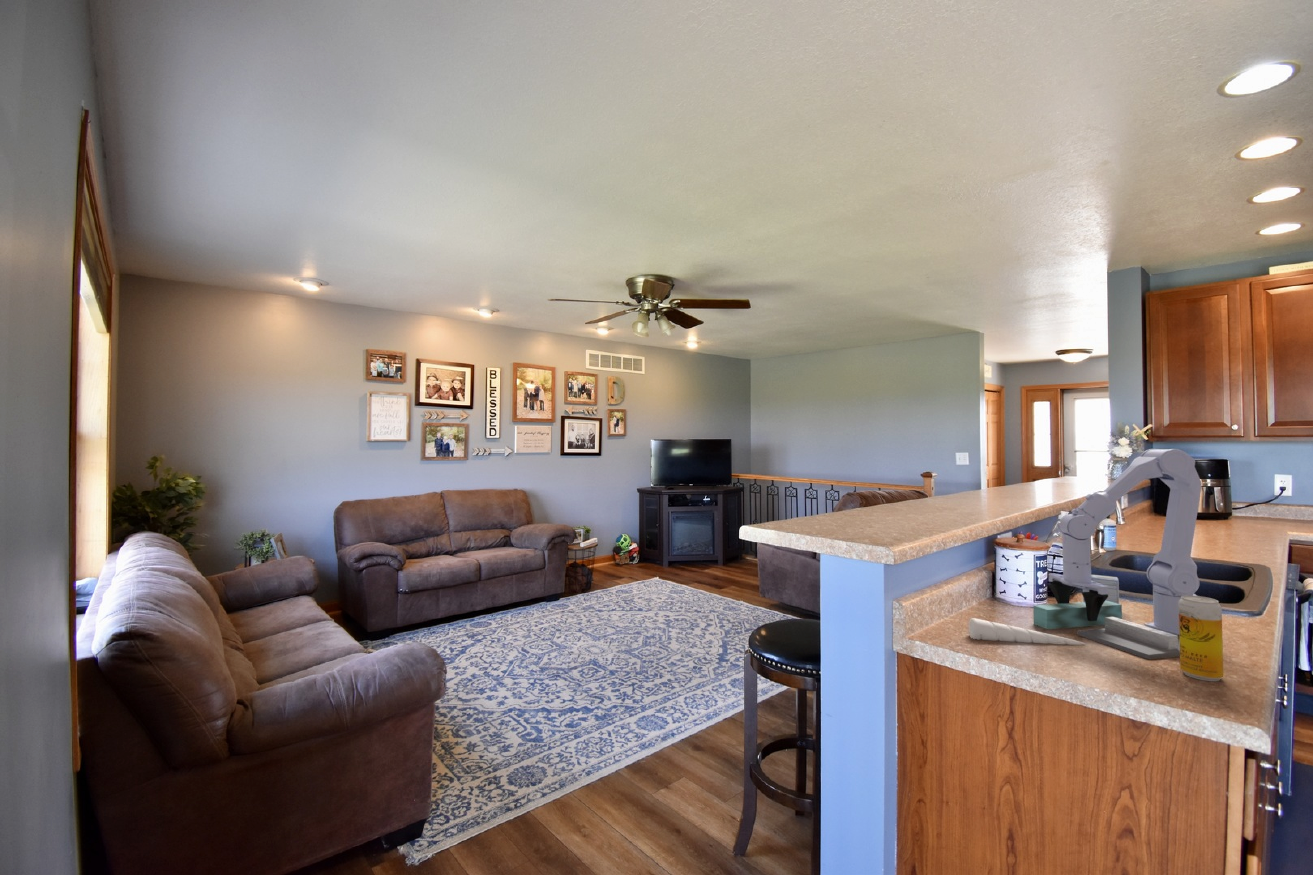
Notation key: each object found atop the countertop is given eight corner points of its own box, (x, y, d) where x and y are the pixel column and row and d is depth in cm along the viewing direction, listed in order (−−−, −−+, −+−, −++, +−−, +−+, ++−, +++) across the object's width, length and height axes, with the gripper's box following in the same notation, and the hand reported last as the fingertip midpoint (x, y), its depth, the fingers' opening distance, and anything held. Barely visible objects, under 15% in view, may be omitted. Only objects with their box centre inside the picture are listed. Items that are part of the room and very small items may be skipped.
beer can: (1171, 670, 113) (1169, 595, 113) (1199, 669, 114) (1197, 594, 114) (1203, 683, 107) (1201, 603, 107) (1232, 681, 107) (1230, 602, 108)
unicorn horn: (1093, 652, 124) (1092, 630, 124) (972, 642, 132) (971, 621, 132) (1084, 645, 129) (1083, 623, 129) (967, 635, 136) (967, 615, 136)
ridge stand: (1131, 629, 138) (1131, 613, 138) (1208, 653, 122) (1207, 634, 122) (1077, 634, 134) (1077, 618, 135) (1148, 659, 119) (1148, 640, 119)
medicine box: (1119, 608, 156) (1118, 577, 156) (1119, 612, 152) (1118, 580, 153) (1083, 603, 161) (1082, 573, 161) (1082, 607, 157) (1082, 576, 157)
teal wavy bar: (1106, 619, 147) (1106, 600, 147) (1122, 624, 143) (1121, 604, 143) (1033, 625, 143) (1033, 605, 143) (1047, 630, 139) (1046, 609, 139)
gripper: (1038, 557, 150) (1039, 609, 149) (1091, 569, 135) (1092, 625, 135) (1060, 556, 151) (1061, 607, 151) (1115, 567, 137) (1116, 623, 137)
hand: (1077, 616), depth 143 cm, fingers open, 7 cm apart
